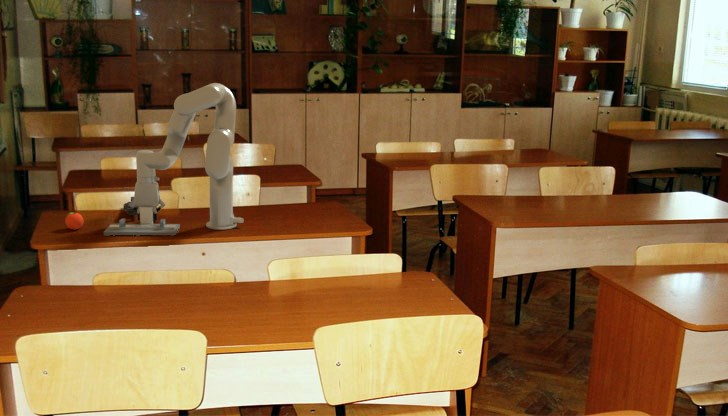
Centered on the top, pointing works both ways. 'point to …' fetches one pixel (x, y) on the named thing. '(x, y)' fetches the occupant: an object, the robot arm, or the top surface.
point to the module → (146, 215)
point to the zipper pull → (130, 208)
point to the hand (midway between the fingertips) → (147, 221)
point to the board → (141, 231)
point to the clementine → (74, 221)
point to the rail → (142, 226)
